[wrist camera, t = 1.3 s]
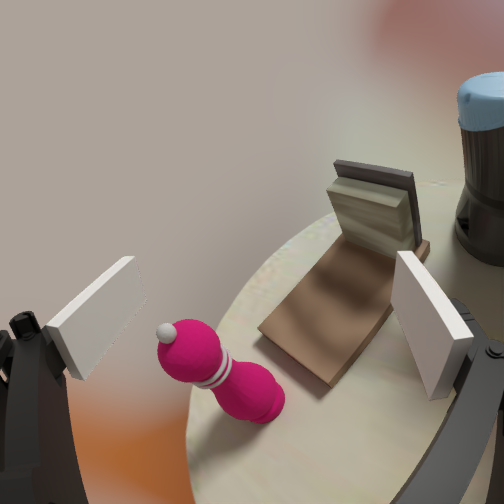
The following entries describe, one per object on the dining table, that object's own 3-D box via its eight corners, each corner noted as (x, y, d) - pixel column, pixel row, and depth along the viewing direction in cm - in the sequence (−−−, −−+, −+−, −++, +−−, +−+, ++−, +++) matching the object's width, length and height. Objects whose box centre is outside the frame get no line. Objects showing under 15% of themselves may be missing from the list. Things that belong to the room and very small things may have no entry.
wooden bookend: (358, 226, 49) (333, 157, 41) (430, 250, 38) (421, 171, 30) (263, 334, 43) (211, 277, 35) (332, 388, 33) (291, 338, 24)
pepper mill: (293, 377, 36) (205, 289, 24) (283, 429, 32) (177, 370, 20) (245, 376, 40) (147, 296, 28) (233, 423, 35) (119, 362, 23)
